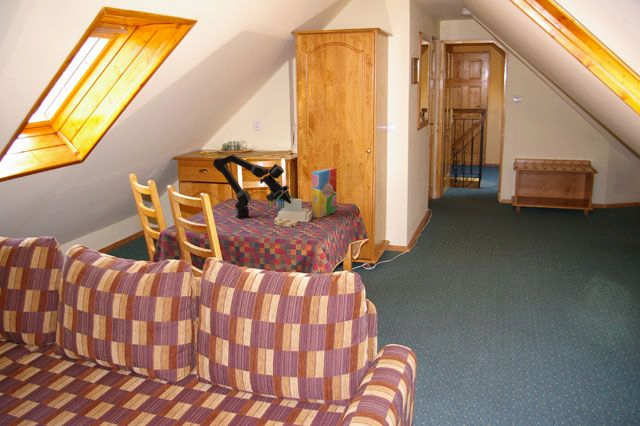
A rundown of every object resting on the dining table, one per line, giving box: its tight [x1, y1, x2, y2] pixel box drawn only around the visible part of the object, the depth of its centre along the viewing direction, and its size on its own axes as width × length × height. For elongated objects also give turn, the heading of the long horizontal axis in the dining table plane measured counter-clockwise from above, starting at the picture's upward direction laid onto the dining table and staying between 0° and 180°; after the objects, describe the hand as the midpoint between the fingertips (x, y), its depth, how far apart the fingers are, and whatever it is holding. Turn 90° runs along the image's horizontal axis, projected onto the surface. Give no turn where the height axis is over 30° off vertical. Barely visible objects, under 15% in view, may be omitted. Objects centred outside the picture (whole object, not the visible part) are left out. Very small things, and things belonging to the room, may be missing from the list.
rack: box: [274, 208, 313, 223], centre depth 336 cm, size 20×12×5 cm, turn 80°
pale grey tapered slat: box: [284, 198, 303, 211], centre depth 335 cm, size 10×2×10 cm, turn 80°
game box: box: [311, 167, 338, 219], centre depth 344 cm, size 21×6×27 cm, turn 149°
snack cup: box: [269, 194, 295, 213], centre depth 354 cm, size 16×10×10 cm
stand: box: [273, 219, 299, 228], centre depth 323 cm, size 12×6×2 cm, turn 55°
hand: (291, 202), depth 335 cm, fingers closed on pale grey tapered slat, 2 cm apart
